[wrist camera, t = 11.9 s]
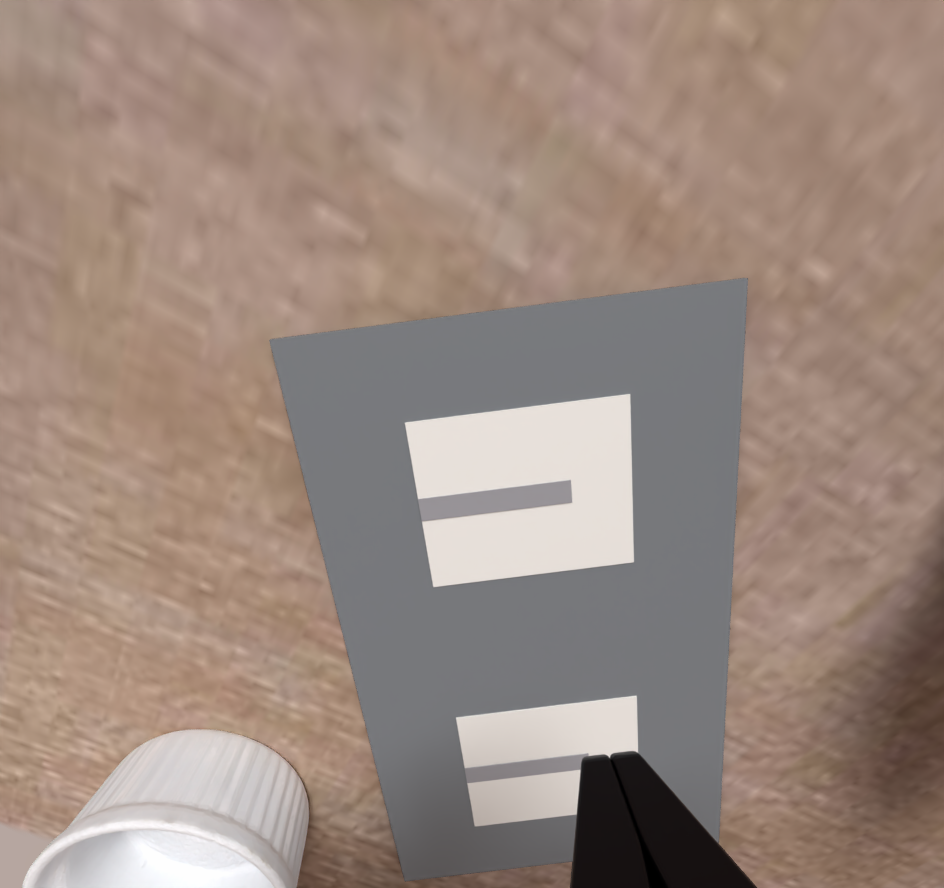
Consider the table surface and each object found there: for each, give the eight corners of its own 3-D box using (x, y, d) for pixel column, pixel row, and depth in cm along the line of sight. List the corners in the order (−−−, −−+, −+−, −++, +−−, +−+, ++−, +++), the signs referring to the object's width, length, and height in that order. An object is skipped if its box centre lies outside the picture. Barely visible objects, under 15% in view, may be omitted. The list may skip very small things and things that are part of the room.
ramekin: (54, 784, 21) (-43, 910, 17) (214, 675, 19) (150, 784, 15) (215, 896, 23) (164, 1030, 19) (367, 807, 22) (347, 931, 18)
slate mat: (744, 277, 15) (749, 278, 15) (716, 839, 23) (719, 846, 23) (271, 339, 15) (268, 340, 15) (405, 876, 23) (404, 883, 23)
